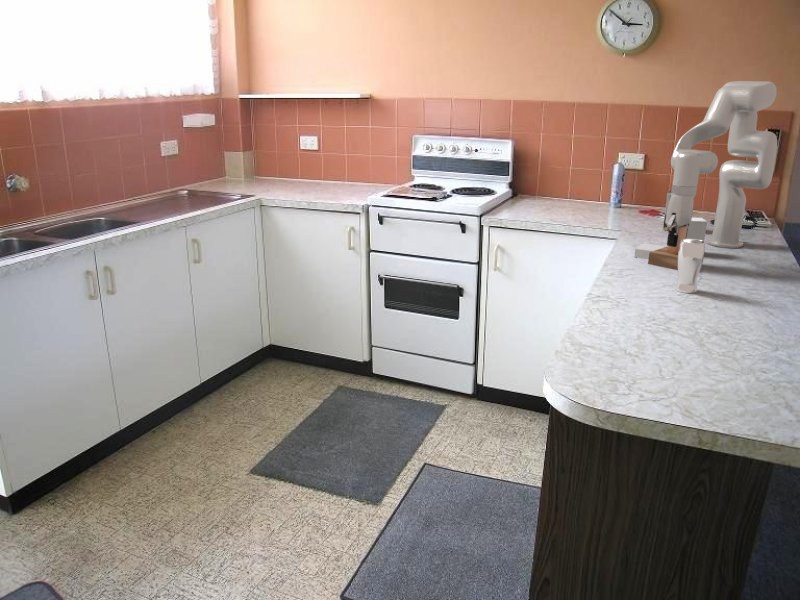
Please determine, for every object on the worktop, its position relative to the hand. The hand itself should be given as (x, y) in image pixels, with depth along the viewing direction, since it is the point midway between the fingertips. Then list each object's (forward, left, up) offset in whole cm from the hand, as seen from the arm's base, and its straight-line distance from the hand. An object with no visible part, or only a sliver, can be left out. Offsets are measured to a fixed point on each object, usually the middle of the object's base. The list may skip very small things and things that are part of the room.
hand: (676, 244), depth 223 cm
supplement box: (-19, -3, -7) cm, 20 cm away
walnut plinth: (0, 0, -7) cm, 7 cm away
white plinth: (-5, -10, -7) cm, 13 cm away
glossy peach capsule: (0, 0, -3) cm, 3 cm away
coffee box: (-53, -24, -7) cm, 59 cm away
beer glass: (+26, +16, -7) cm, 31 cm away
